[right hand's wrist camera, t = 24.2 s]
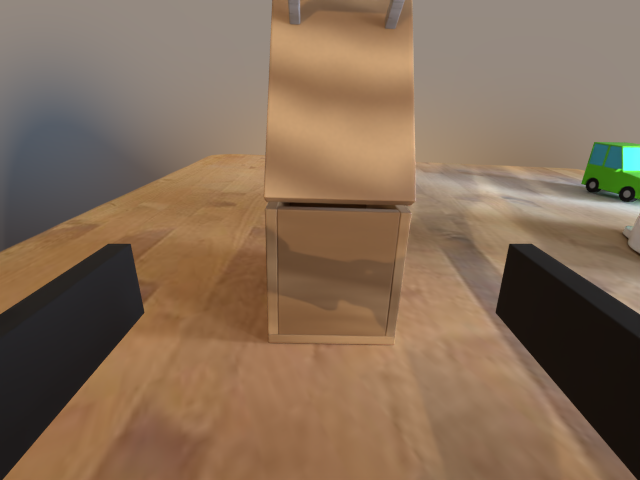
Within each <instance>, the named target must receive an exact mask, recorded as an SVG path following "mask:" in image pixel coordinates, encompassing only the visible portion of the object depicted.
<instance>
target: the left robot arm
mask: <svg viewBox="0 0 640 480" xmlns="http://www.w3.org/2000/svg"><path fill="white" fill-rule="evenodd" d="M623 234H624V235H625V236H626V237H628V238H629V240H628V245H629V246H630V247H631V248H632V249H634V250H635V251H637V252H638V253H640V214H639V216H638V218H637V220H636V222H635V224H634V226H626V227H625V229H624V231H623Z"/></svg>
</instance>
